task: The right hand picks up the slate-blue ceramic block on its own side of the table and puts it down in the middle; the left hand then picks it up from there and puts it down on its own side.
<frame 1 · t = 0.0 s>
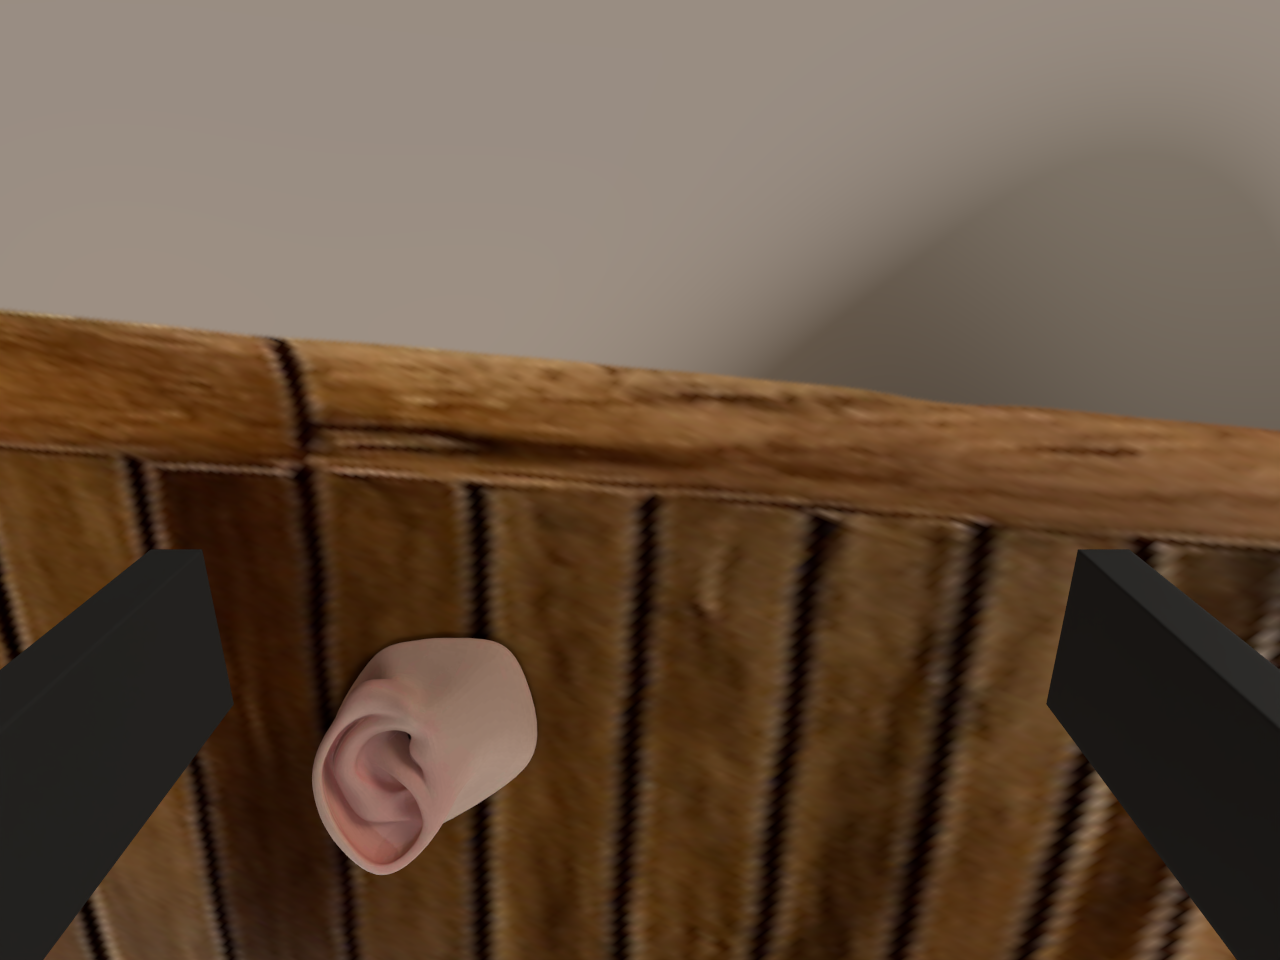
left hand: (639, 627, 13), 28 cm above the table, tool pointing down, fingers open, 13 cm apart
anatomical model: (432, 728, 47), on the table
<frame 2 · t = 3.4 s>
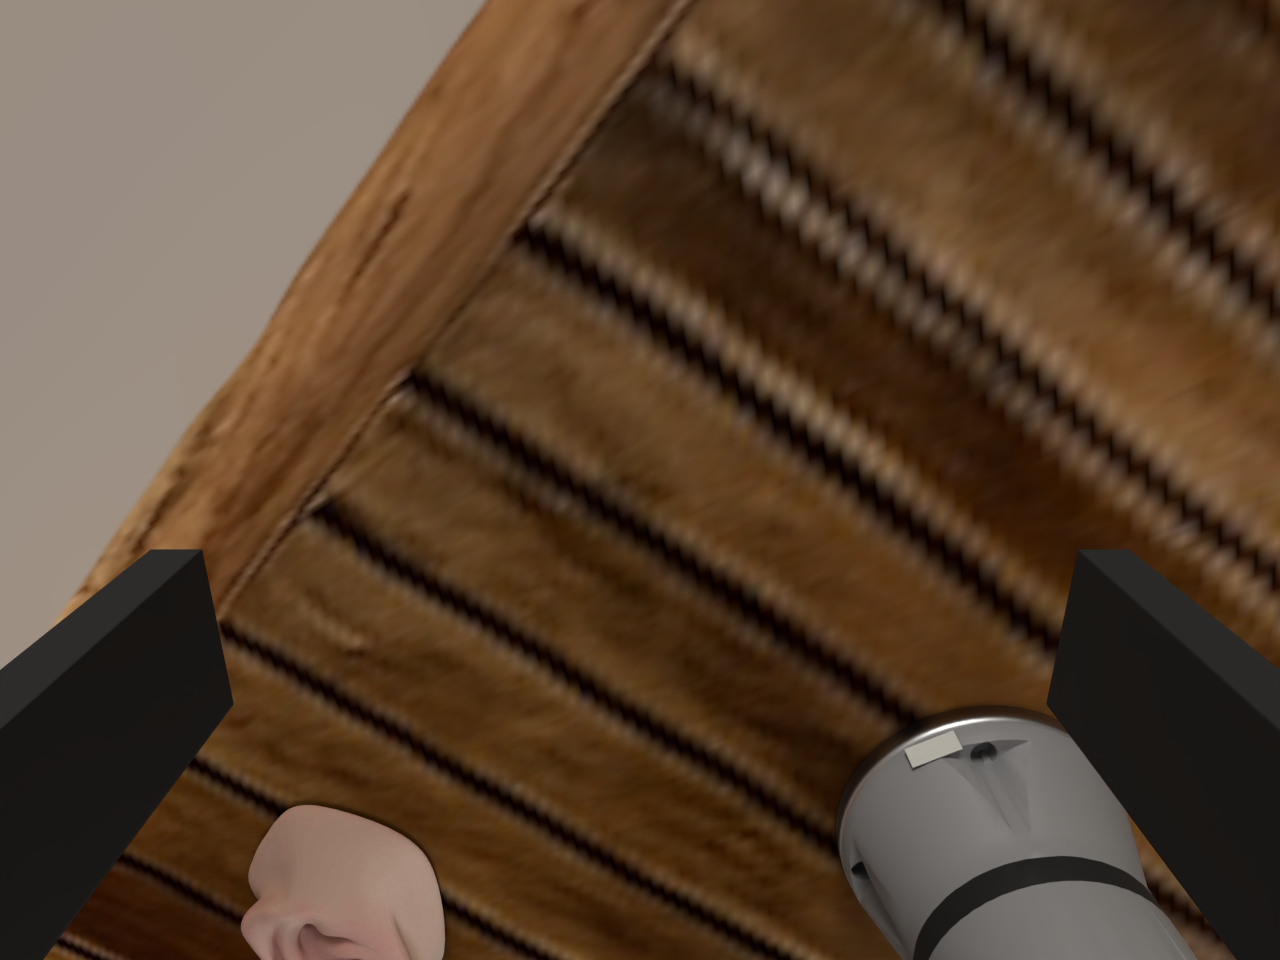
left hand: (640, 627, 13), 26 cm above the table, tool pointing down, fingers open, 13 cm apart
anatomical model: (350, 893, 50), on the table
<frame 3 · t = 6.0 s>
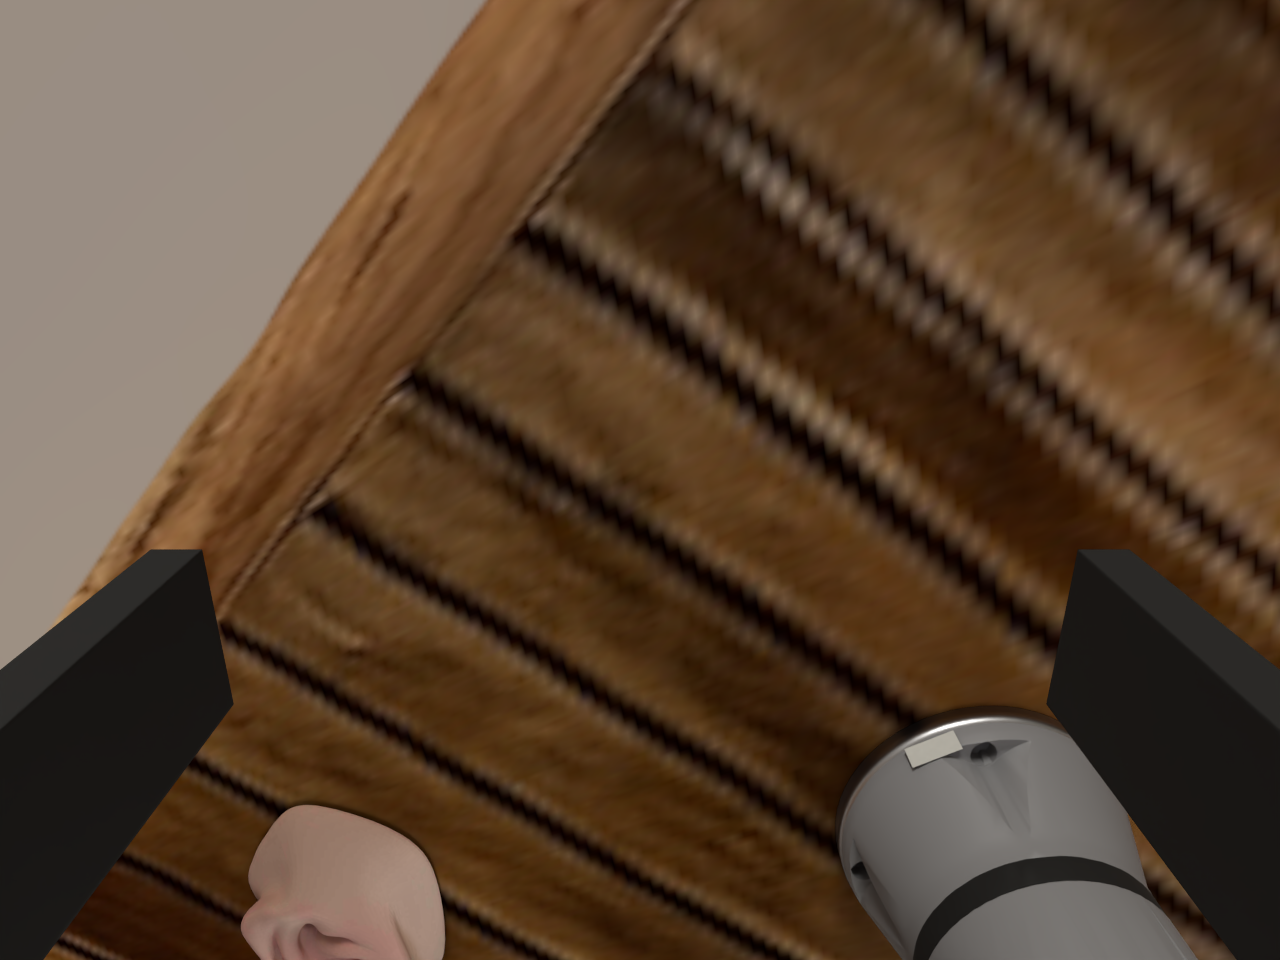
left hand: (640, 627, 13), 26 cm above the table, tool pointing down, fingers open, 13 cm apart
anatomical model: (350, 893, 50), on the table
when the right hand's fingers open (3 cm above the table, at t = 8.7 s): block stays where it is, on the table.
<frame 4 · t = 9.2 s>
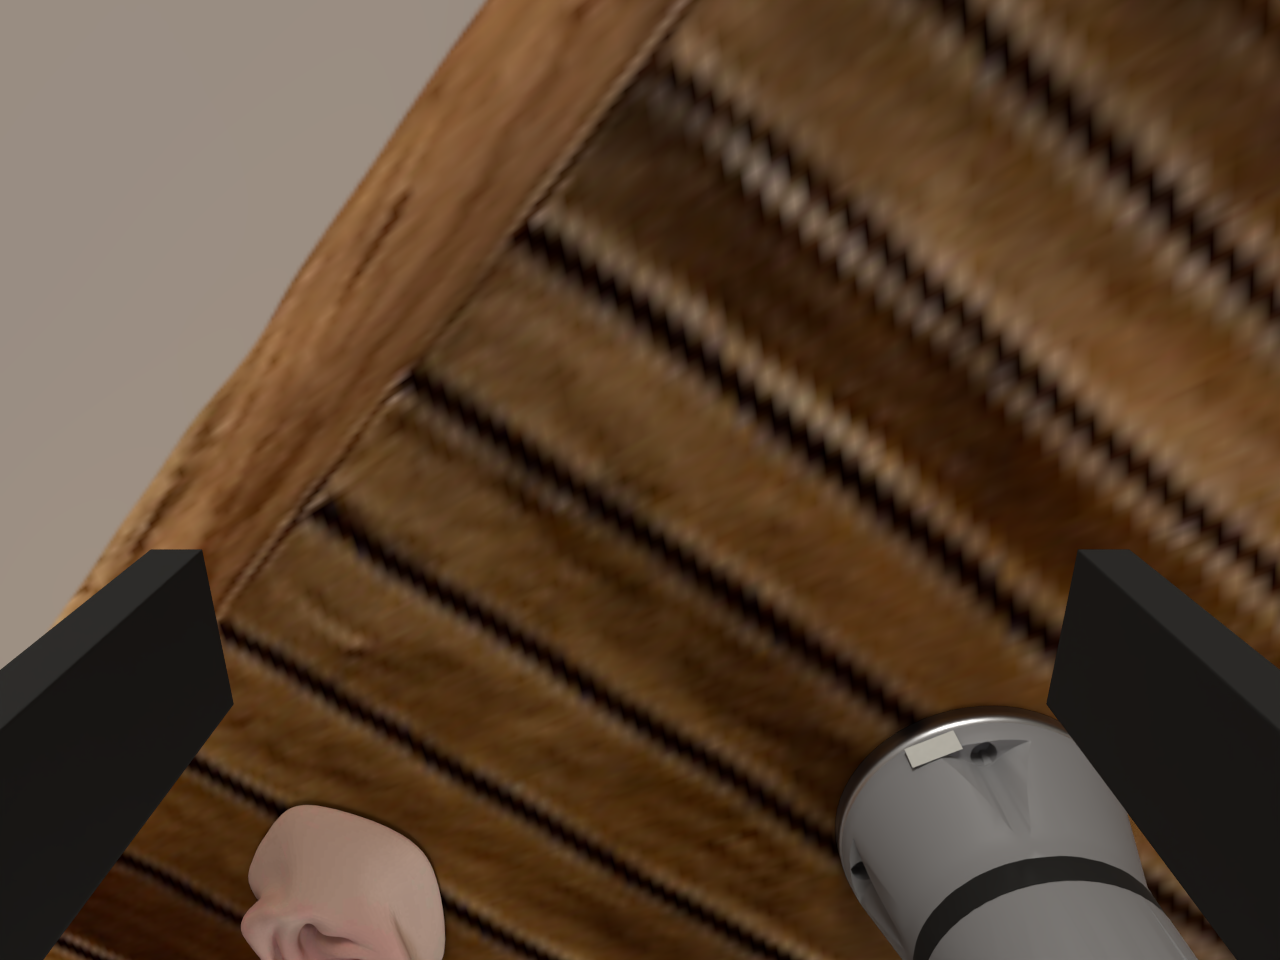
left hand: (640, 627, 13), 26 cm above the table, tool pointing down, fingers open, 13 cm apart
anatomical model: (350, 893, 50), on the table
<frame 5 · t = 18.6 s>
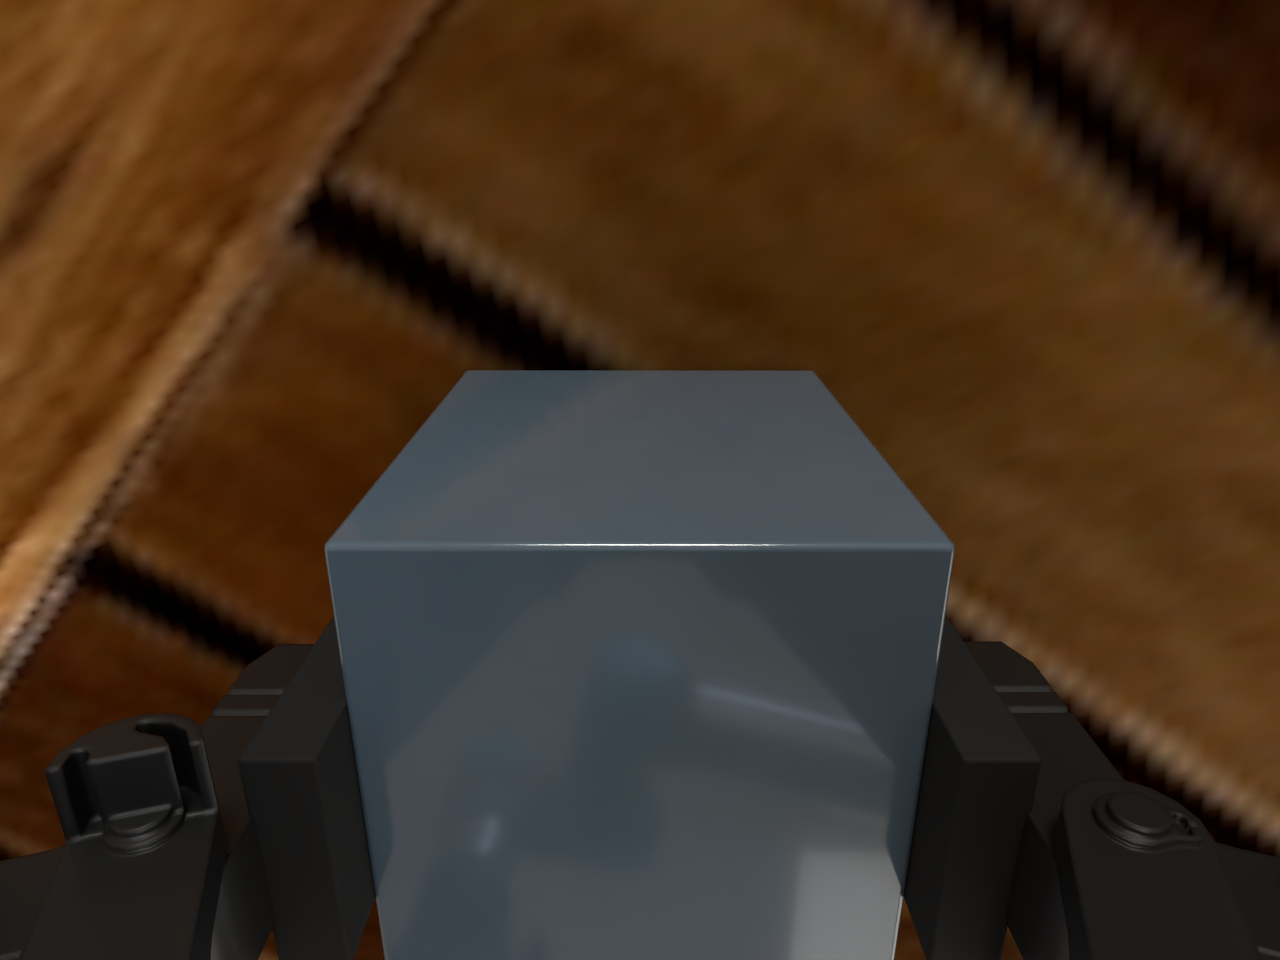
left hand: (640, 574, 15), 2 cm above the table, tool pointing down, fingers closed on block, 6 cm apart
block: (639, 536, 16), on the table, touching left hand
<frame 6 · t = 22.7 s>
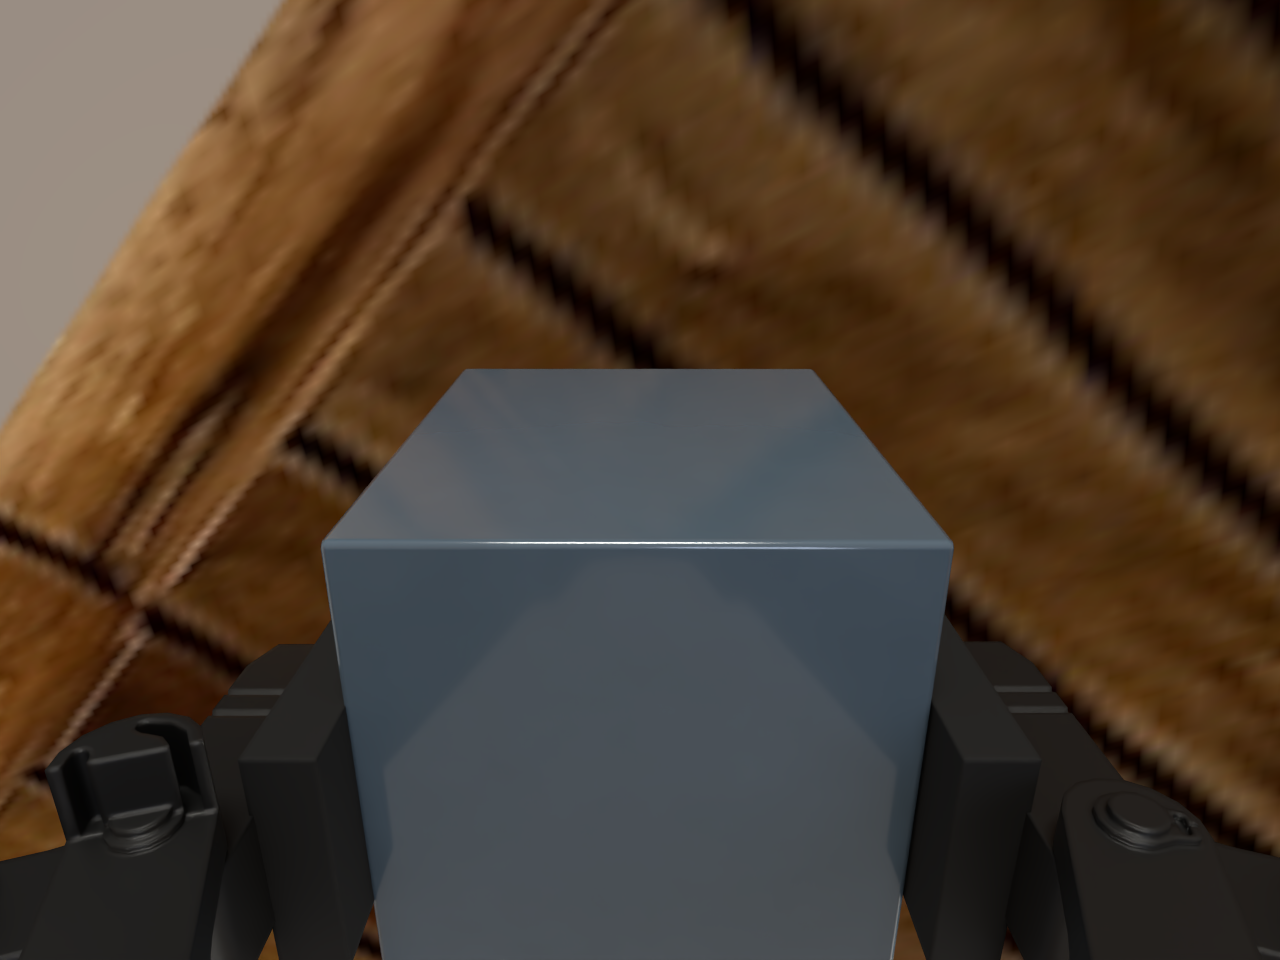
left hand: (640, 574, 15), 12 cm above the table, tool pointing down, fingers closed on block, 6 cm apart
block: (638, 535, 16), point 10 cm above the table, touching left hand
when the left hand's fingers open (3 cm above the table, at t = 27.1 s): block stays where it is, on the table.
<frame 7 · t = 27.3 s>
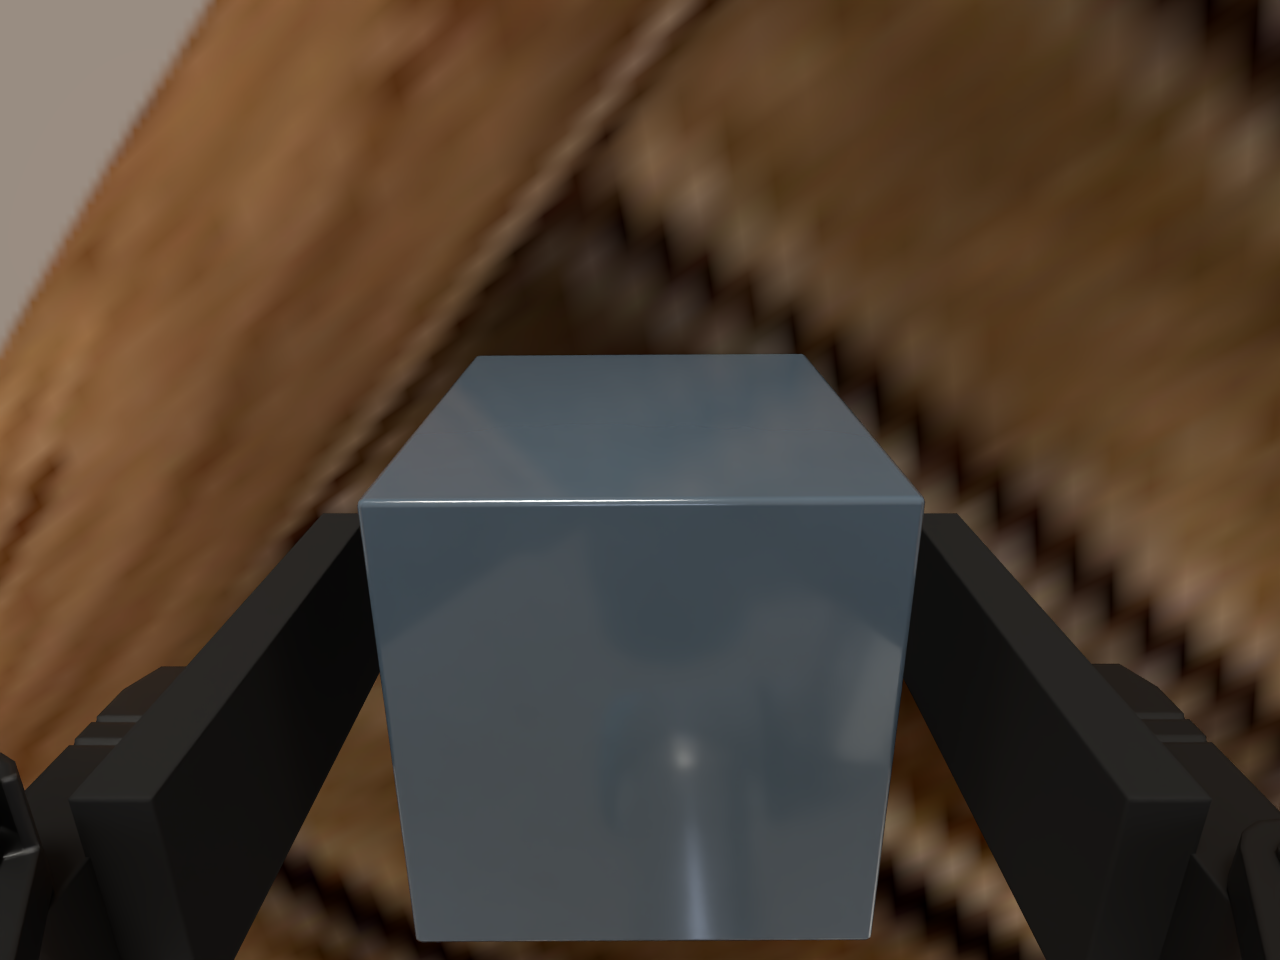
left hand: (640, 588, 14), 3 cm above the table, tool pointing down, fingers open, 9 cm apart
block: (641, 513, 17), on the table
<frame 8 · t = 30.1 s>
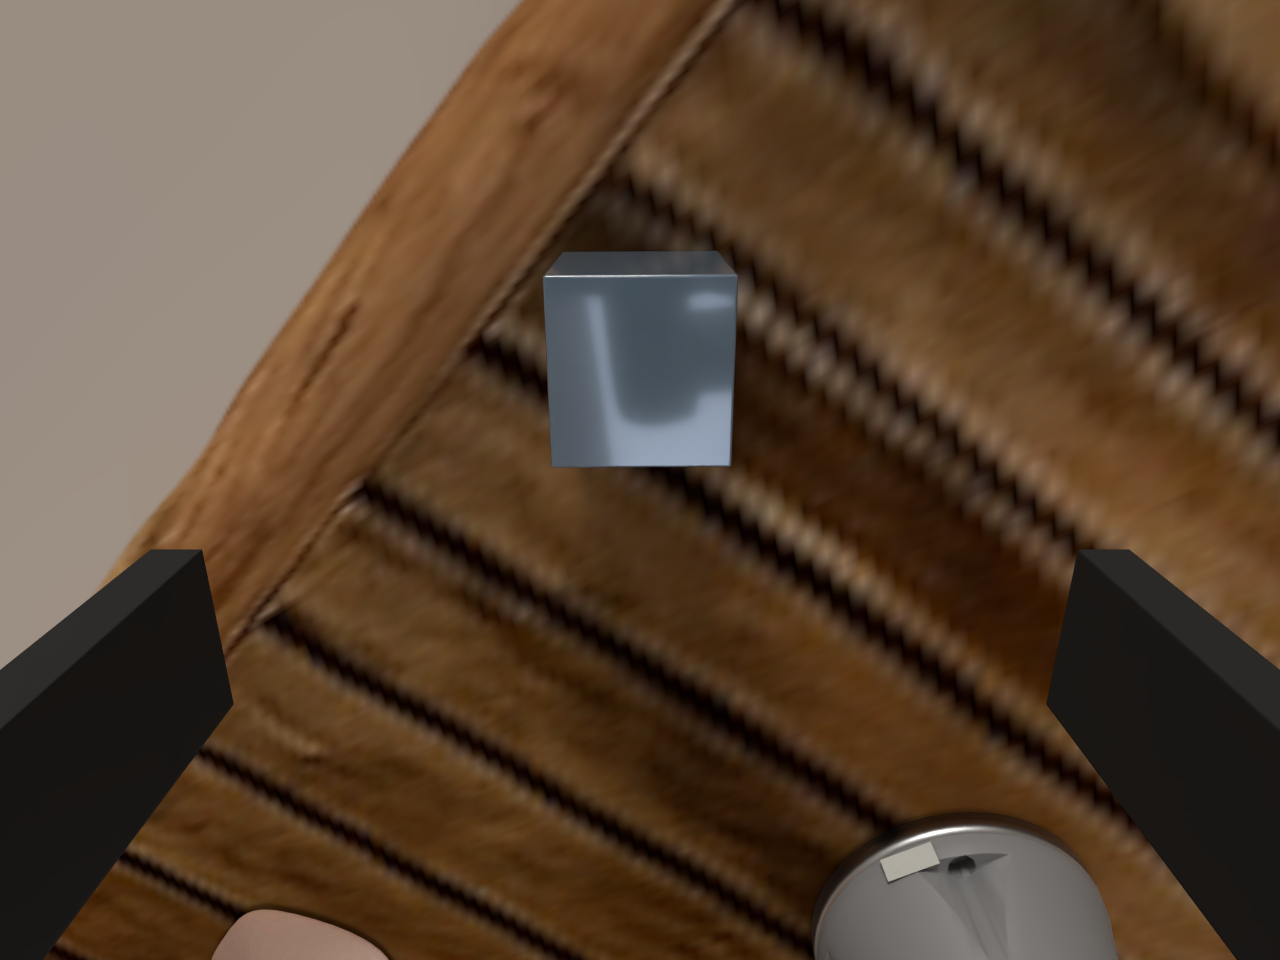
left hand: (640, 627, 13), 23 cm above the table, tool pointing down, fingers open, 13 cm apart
block: (640, 333, 35), on the table
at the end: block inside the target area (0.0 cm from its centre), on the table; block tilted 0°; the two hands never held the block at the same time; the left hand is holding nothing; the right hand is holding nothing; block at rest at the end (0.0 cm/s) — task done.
